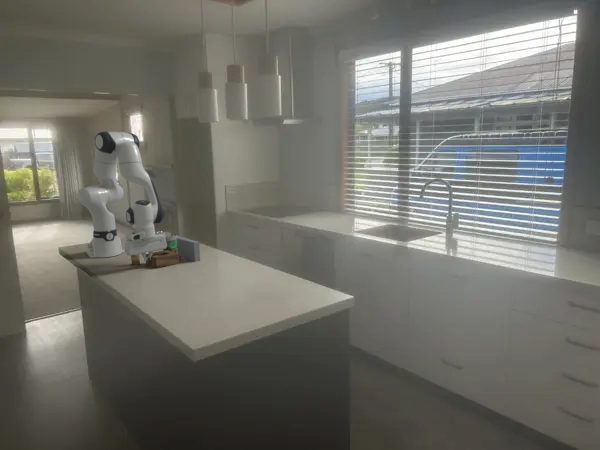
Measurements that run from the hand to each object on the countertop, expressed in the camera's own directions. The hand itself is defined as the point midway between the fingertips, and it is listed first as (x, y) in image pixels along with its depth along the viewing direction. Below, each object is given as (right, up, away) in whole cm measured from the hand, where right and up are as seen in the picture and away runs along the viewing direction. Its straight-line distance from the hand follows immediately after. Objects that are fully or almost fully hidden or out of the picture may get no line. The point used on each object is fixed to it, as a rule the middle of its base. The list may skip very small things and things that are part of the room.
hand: (147, 260), depth 218 cm
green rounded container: (+4, +2, +28) cm, 29 cm away
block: (+6, -2, +6) cm, 8 cm away
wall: (+16, 0, +16) cm, 23 cm away
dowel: (-8, -2, +5) cm, 10 cm away
